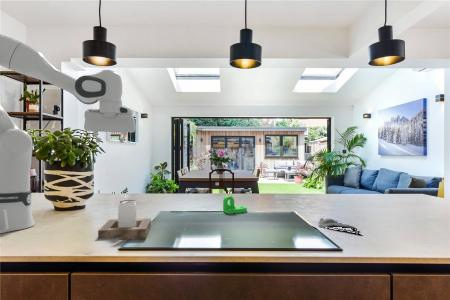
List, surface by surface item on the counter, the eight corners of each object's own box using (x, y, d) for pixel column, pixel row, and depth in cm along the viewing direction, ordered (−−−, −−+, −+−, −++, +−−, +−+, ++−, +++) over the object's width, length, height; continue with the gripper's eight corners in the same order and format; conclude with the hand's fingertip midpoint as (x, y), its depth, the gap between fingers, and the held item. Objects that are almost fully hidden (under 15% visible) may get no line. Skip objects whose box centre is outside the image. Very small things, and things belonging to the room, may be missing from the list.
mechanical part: (229, 214, 145) (229, 198, 145) (223, 212, 150) (223, 196, 150) (249, 211, 151) (249, 196, 151) (242, 209, 156) (242, 194, 156)
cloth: (308, 219, 136) (308, 214, 136) (337, 219, 137) (338, 214, 137) (331, 236, 110) (331, 230, 110) (367, 235, 111) (367, 229, 111)
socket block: (98, 240, 101) (98, 230, 101) (109, 228, 117) (109, 219, 117) (146, 238, 104) (146, 228, 104) (150, 227, 119) (150, 218, 119)
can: (114, 234, 108) (114, 202, 108) (124, 230, 115) (124, 199, 115) (130, 235, 107) (131, 202, 107) (139, 231, 113) (139, 199, 113)
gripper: (82, 107, 119) (81, 141, 119) (134, 109, 122) (133, 142, 122) (87, 109, 126) (86, 142, 126) (136, 111, 129) (136, 143, 128)
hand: (110, 142), depth 124 cm, fingers open, 8 cm apart
